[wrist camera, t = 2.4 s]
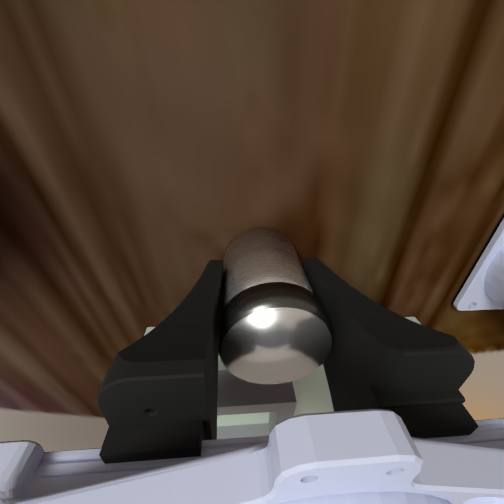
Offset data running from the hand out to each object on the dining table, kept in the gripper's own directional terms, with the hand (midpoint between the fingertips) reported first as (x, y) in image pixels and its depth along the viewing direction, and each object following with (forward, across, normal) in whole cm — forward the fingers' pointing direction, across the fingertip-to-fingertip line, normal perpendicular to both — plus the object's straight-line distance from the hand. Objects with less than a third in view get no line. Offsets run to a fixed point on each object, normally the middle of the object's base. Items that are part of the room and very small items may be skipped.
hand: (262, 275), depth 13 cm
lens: (+1, 0, 0) cm, 1 cm away
